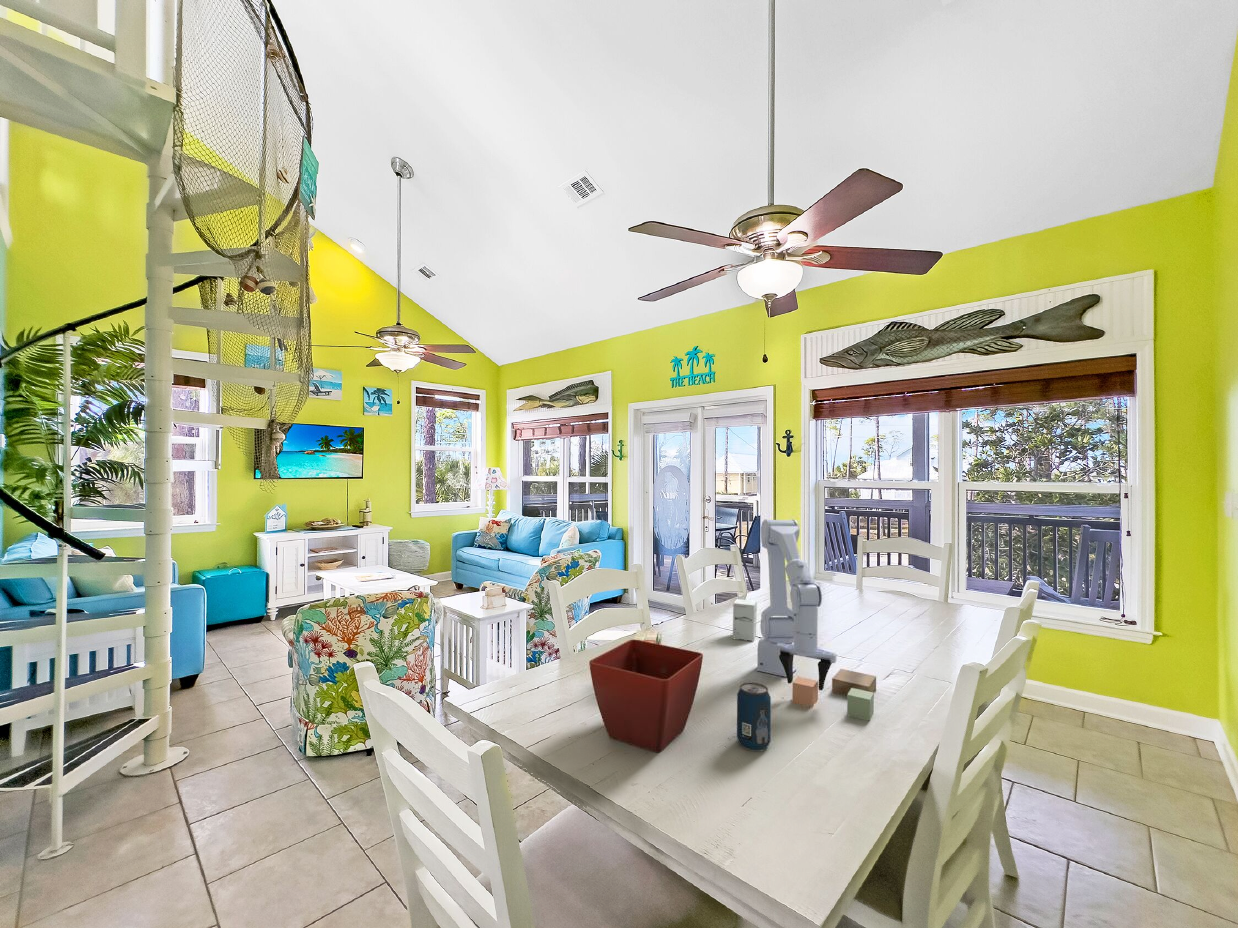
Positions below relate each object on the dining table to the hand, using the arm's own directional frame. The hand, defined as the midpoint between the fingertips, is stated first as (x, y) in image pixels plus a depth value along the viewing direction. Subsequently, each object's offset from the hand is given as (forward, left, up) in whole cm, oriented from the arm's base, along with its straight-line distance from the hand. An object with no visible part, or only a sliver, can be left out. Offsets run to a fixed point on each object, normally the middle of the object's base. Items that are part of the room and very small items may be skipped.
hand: (805, 685), depth 138 cm
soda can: (-3, -29, -4) cm, 29 cm away
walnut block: (+9, +14, -4) cm, 17 cm away
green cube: (+13, 0, -4) cm, 14 cm away
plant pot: (-24, -38, -4) cm, 45 cm away
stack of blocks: (-42, -8, -4) cm, 43 cm away
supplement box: (-32, +42, -4) cm, 53 cm away
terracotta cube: (0, 0, -4) cm, 4 cm away
